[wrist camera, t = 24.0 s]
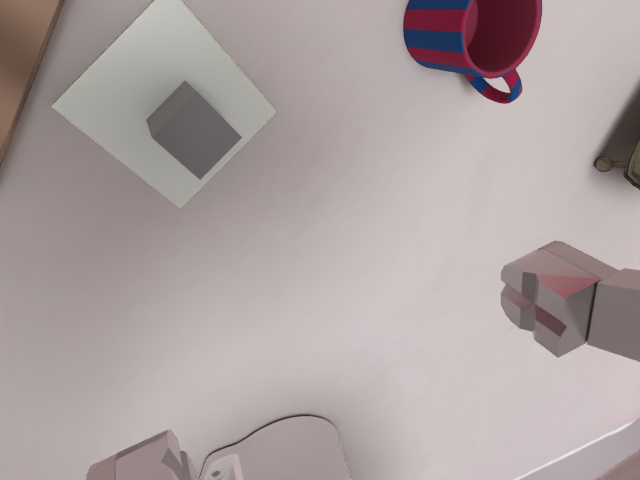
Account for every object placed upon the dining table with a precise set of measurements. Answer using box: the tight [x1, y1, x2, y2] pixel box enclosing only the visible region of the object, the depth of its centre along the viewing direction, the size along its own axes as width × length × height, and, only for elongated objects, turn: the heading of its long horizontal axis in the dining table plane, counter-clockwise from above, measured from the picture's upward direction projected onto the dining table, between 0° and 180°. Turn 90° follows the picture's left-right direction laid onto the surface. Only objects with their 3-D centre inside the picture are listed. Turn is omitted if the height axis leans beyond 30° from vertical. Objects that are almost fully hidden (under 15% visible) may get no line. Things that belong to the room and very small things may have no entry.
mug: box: [404, 0, 542, 104], centre depth 33 cm, size 7×10×7 cm
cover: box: [51, 0, 278, 209], centre depth 27 cm, size 10×10×6 cm
